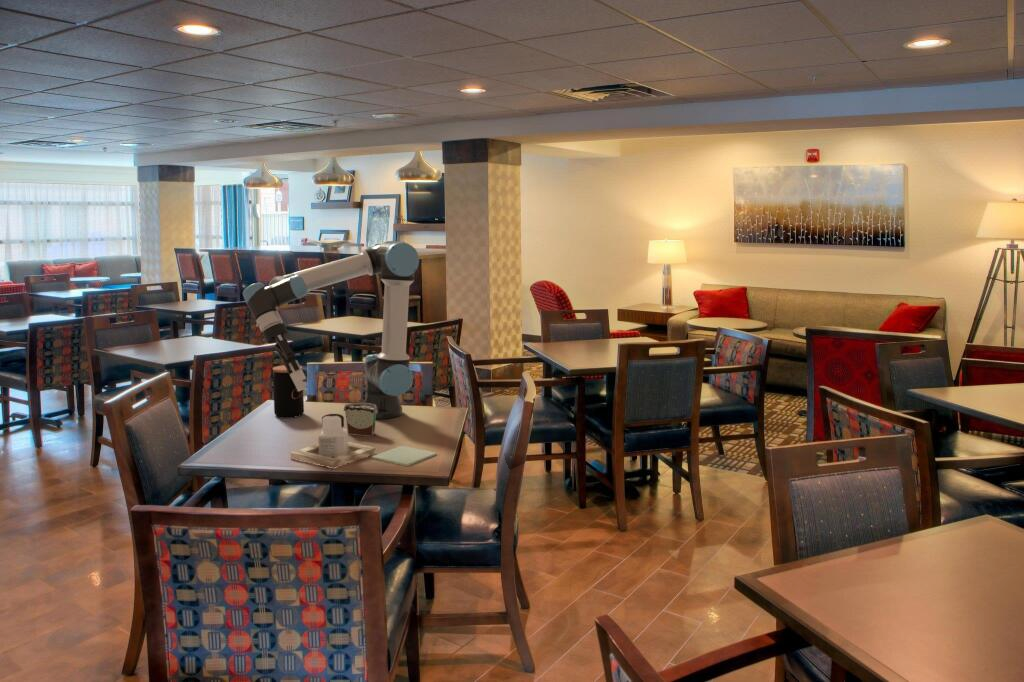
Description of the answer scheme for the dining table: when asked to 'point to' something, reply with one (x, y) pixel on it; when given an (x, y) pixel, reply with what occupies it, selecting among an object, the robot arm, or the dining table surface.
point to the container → (333, 436)
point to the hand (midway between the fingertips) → (302, 385)
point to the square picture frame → (355, 454)
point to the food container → (361, 418)
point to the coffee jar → (286, 394)
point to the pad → (404, 455)
